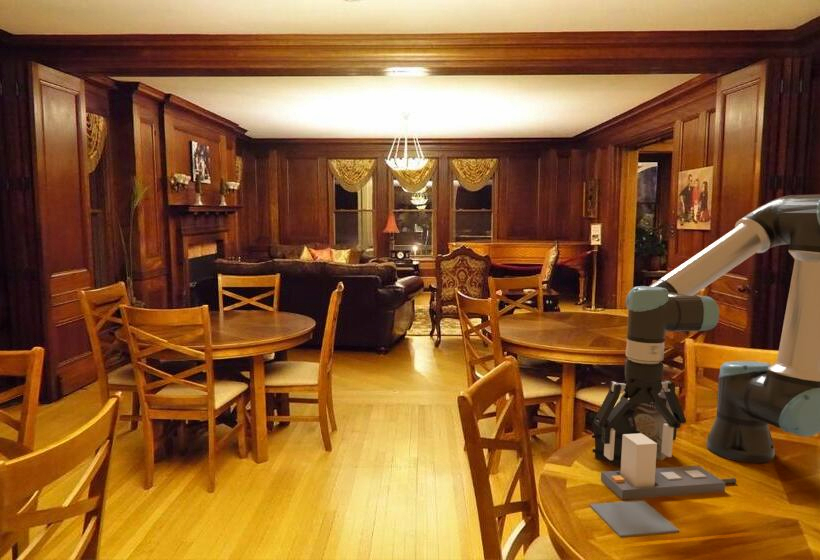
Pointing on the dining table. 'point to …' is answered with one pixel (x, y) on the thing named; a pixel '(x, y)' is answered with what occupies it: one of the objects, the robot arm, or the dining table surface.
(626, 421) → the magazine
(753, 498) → the dining table surface
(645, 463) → the beige rectangular block
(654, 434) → the coffee box
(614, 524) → the slate mat
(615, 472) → the power strip
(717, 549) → the dining table surface
